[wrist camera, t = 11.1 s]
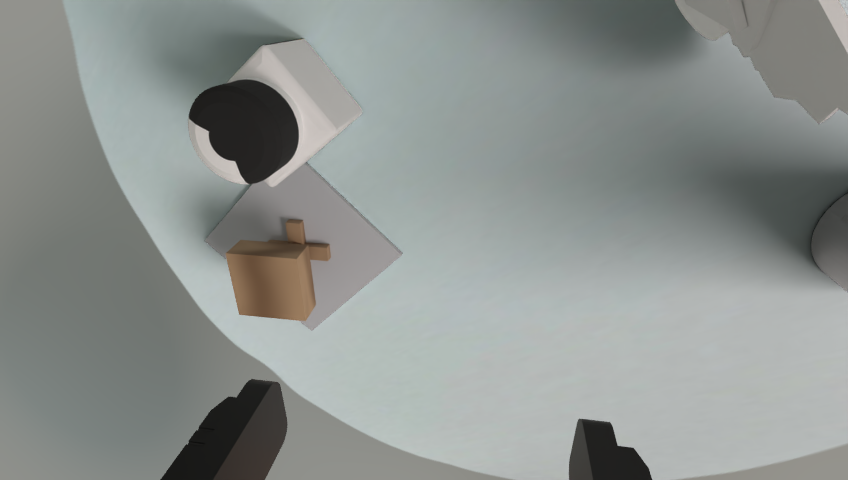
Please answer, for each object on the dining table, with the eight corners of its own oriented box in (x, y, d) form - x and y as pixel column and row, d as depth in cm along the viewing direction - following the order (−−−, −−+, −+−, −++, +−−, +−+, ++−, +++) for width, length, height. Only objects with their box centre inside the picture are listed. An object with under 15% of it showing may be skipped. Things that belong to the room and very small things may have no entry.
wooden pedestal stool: (327, 221, 42) (296, 258, 36) (333, 277, 45) (305, 321, 39) (265, 217, 43) (225, 253, 37) (275, 272, 46) (239, 314, 39)
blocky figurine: (304, 36, 35) (219, 49, 25) (365, 111, 37) (310, 152, 27) (247, 94, 38) (149, 128, 28) (306, 161, 40) (236, 217, 29)
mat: (402, 253, 43) (401, 255, 42) (313, 328, 49) (311, 330, 48) (287, 144, 40) (285, 145, 39) (206, 238, 45) (204, 240, 45)
